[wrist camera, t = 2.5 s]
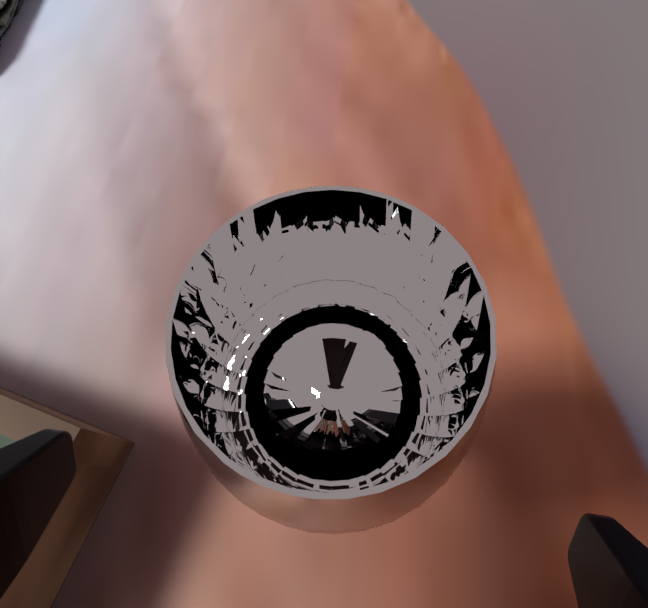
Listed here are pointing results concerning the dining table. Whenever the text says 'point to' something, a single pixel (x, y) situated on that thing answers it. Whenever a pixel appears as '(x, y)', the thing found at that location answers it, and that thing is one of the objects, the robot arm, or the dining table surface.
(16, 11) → the dish towel
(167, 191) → the dining table surface
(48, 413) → the caddy
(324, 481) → the wineglass
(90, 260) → the dining table surface
